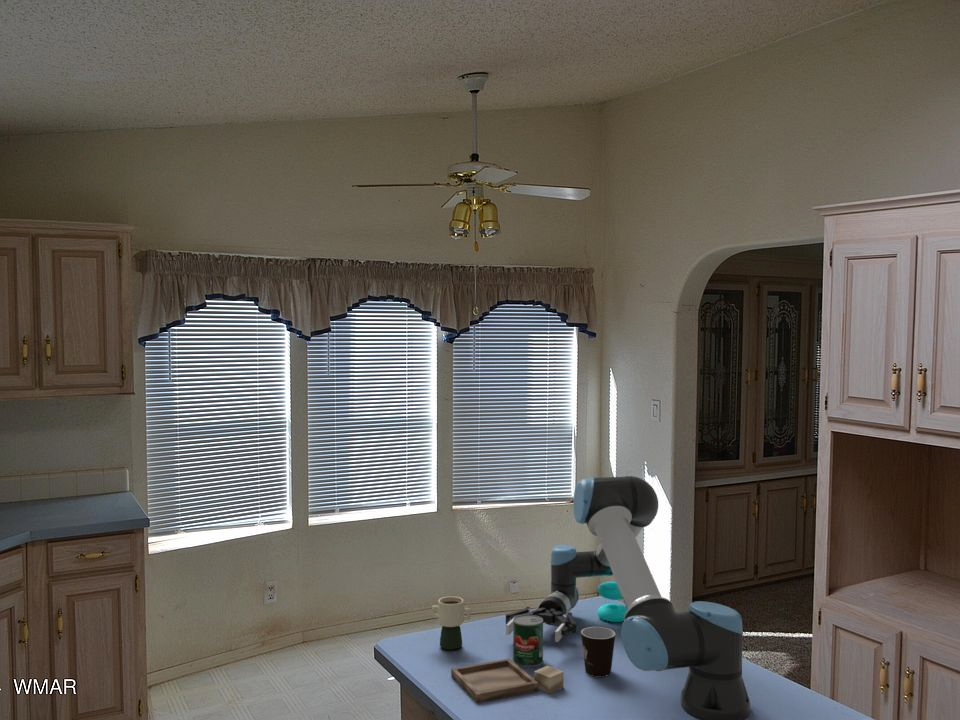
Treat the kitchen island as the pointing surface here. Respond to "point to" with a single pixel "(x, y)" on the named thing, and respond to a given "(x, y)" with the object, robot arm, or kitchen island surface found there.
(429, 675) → the kitchen island surface
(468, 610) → the character mug
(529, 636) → the canned tomato
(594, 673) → the coffee mug
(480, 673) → the tray
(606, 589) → the donuts
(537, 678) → the wooden block
